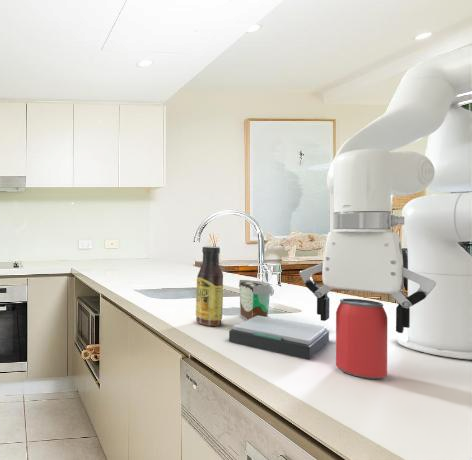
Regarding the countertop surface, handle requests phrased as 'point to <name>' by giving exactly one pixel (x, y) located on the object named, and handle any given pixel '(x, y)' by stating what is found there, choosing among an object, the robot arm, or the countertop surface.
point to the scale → (280, 336)
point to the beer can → (361, 338)
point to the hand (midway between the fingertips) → (360, 325)
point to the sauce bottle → (209, 289)
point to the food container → (254, 298)
